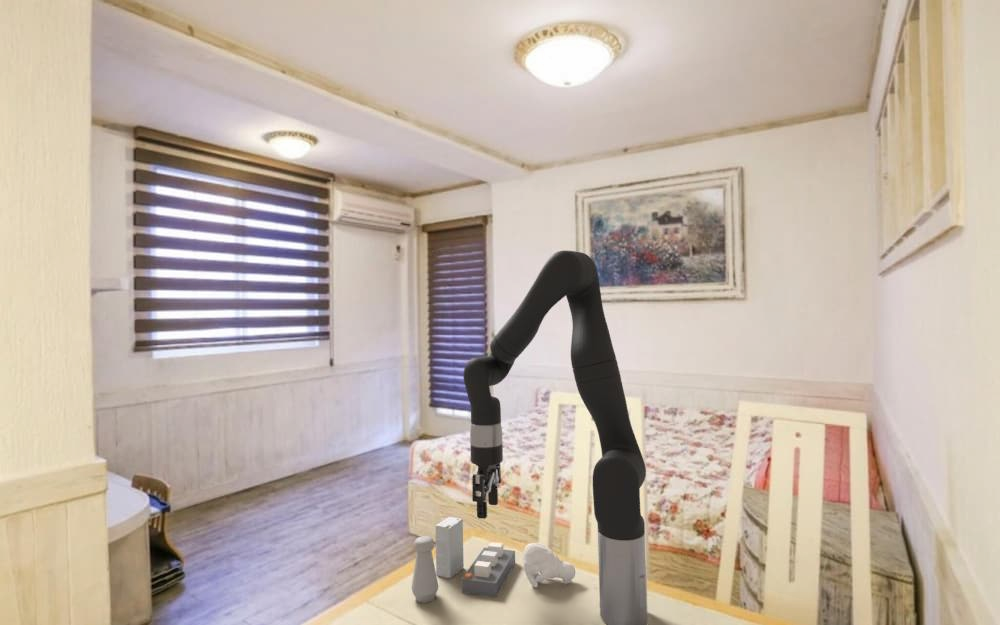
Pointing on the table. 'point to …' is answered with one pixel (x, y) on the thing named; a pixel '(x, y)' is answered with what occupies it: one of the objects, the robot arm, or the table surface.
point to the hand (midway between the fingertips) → (487, 510)
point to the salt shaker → (424, 571)
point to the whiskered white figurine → (545, 565)
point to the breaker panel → (494, 577)
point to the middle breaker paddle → (490, 557)
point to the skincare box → (449, 547)
